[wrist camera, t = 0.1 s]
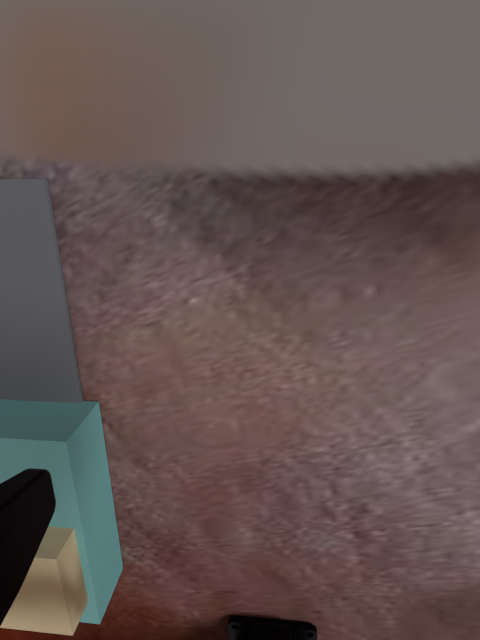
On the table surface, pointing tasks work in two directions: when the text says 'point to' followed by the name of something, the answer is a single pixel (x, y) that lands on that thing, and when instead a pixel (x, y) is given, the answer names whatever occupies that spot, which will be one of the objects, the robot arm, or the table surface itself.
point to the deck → (69, 482)
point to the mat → (33, 300)
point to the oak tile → (51, 588)
